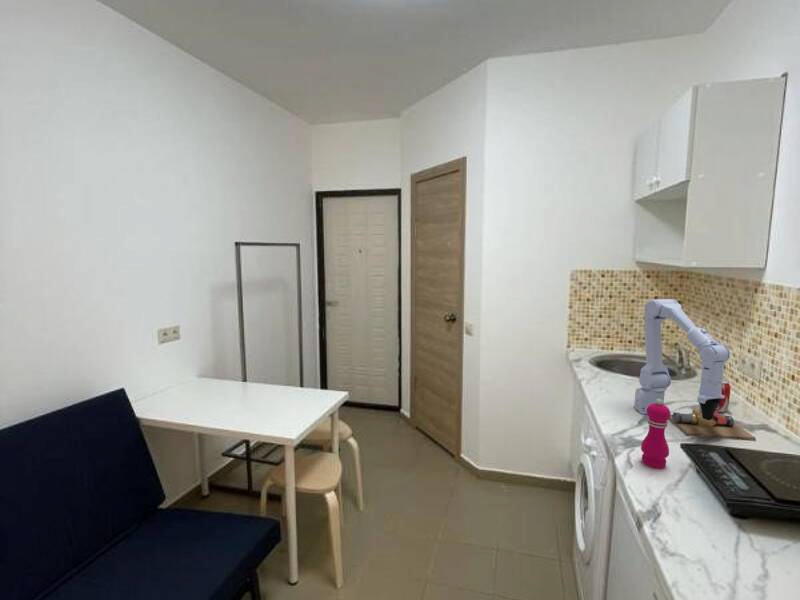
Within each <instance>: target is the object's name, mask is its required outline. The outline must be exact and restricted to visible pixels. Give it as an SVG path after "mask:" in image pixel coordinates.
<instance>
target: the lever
mask: <svg viewBox="0 0 800 600" xmlns="http://www.w3.org/2000/svg"><path fill="white" fill-rule="evenodd" d="M698 409H699V411H701V406H700V405H699V407H698ZM712 420H714V421H715V422H716V423H720V424H726V421H727V418H725V417H724V415H722V414H721V413H720V412H716V411H715V412H714V415H713V417H712Z"/></svg>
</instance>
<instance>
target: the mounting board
mask: <svg viewBox="0 0 800 600" xmlns="http://www.w3.org/2000/svg"><path fill="white" fill-rule="evenodd" d="M672 416H673V414H670V418H669V419H668V421H670V422H671V423H672V424H673V425H674V426H675V427H677V428H678V429H679V430H680V431H681V432H682V433H683V434H684V435H685V436H686V437H688V436H689V437H700V438H711V439H713V438H714V439H728V440H739V439H741V441H753V440H755V441H756V436H754V435H752V434H751V433H749V432H748V431H747V430H745V429H743V427H740V426H739V425H738V424H736V423H735V422H734V425H733V427H728V426H721V425H716V426H713V427H702V426H697V425H695V424H691V423H674V422H673V418H672Z"/></svg>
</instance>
